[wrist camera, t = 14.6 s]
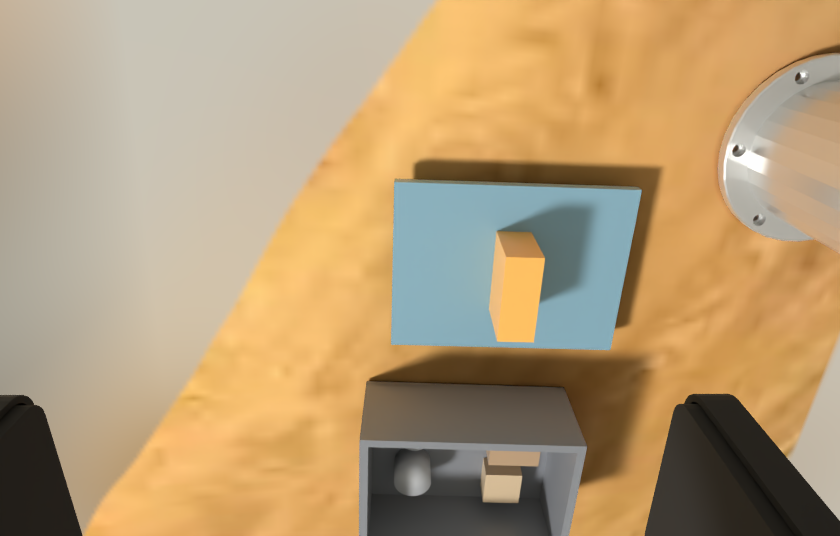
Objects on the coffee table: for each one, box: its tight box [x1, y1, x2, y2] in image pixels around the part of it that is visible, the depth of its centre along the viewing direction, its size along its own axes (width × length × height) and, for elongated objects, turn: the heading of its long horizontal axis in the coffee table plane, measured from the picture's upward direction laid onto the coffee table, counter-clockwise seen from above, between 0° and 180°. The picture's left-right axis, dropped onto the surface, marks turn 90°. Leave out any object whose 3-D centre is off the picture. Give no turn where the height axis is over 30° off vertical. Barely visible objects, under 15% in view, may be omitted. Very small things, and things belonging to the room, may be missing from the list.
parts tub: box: [359, 381, 587, 536], centre depth 47 cm, size 16×12×7 cm
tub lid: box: [391, 179, 642, 350], centre depth 40 cm, size 16×12×6 cm
